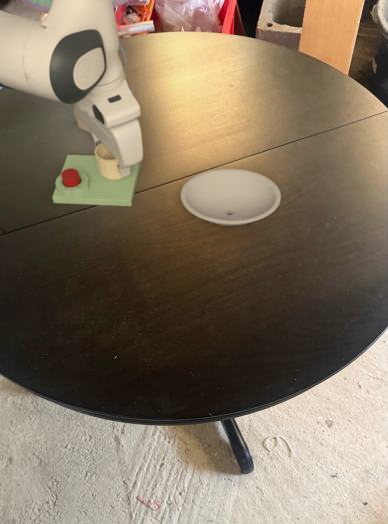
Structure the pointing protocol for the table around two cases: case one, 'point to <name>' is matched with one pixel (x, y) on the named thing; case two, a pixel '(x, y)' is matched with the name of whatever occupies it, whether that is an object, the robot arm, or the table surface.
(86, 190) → the green base plate
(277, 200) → the dish
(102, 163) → the beige cup
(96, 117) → the robot arm
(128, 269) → the table surface
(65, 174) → the button
